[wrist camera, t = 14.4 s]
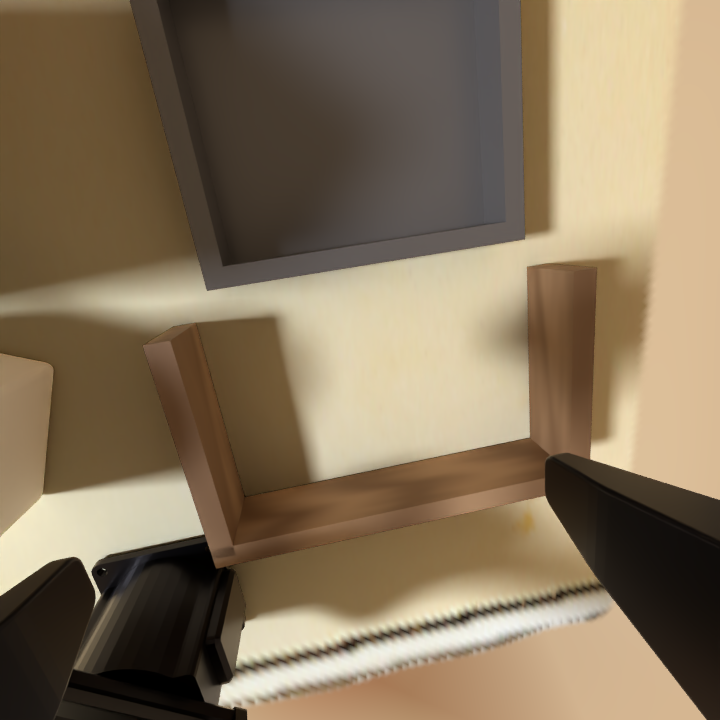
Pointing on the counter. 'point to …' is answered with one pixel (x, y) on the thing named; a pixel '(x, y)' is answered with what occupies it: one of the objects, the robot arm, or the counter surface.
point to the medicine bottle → (22, 434)
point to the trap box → (338, 128)
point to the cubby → (398, 483)
